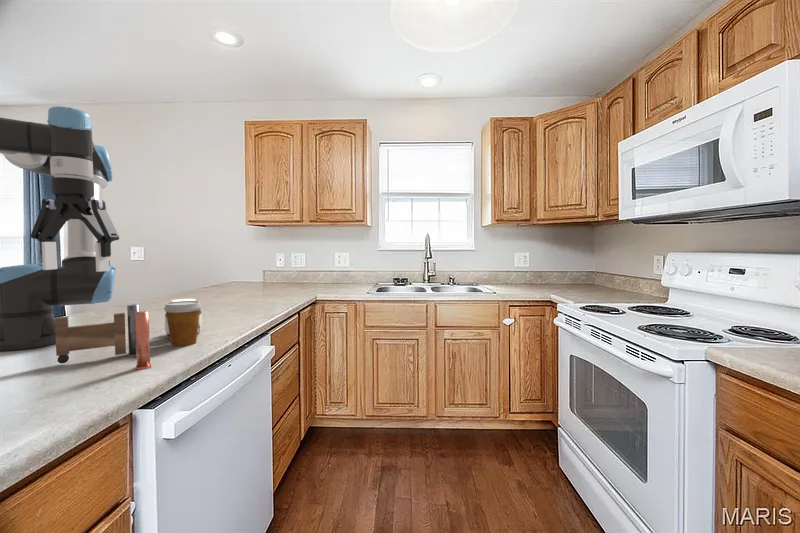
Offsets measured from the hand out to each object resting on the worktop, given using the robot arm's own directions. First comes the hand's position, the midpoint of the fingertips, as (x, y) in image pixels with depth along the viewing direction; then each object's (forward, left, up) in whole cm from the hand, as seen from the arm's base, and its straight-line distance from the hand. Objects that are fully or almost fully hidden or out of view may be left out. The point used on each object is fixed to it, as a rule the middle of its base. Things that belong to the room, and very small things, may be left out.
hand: (76, 270), depth 89 cm
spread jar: (-20, +24, -23) cm, 39 cm away
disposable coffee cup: (-8, +23, -23) cm, 33 cm away
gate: (-3, +2, -22) cm, 22 cm away
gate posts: (+4, +11, -23) cm, 26 cm away
